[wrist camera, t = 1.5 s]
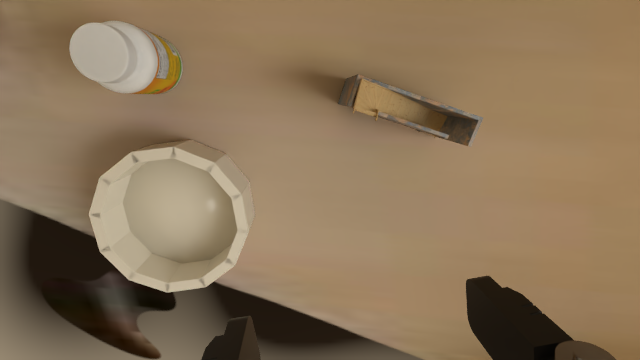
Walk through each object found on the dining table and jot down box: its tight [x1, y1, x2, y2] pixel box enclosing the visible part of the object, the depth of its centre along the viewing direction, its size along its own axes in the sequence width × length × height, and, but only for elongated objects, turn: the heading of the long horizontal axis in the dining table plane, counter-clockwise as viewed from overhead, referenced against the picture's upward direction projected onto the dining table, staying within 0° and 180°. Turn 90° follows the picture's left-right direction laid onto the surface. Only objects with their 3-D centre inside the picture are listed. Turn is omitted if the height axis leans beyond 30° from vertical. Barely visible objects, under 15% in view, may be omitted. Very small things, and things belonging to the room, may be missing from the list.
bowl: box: [89, 140, 255, 292], centre depth 34 cm, size 14×14×5 cm
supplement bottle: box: [69, 21, 183, 94], centre depth 28 cm, size 5×5×10 cm
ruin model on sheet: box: [338, 74, 483, 147], centre depth 31 cm, size 11×3×10 cm, turn 72°
